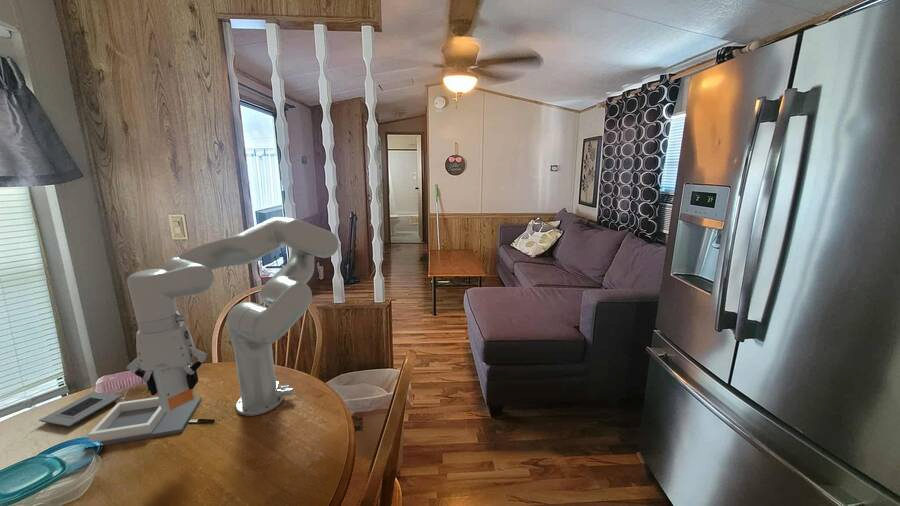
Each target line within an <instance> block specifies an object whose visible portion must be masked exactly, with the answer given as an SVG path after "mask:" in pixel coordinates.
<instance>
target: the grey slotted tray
mask: <svg viewBox="0 0 900 506" xmlns="http://www.w3.org/2000/svg"><path fill="white" fill-rule="evenodd" d="M97 392H98V391H92V392H90V393H88V394H86V395H84V396H82V397H81V398H78V399H76V400H75V401H72V402H71V403H69V404H67V405H65V406H62V407H61V408H59V409H57V410H56V411H53V412H52V413H50V414H48V415H46V416H45V417H43V418H40V419H38V421H39V422H42V423H46V424H47V423H48V424H52V425H59V426H63V427H72V426H75V425H77V424H78V423H80V422H81V421H83V420H84V419H86V418H88V417H91V416H92V415H94V414H96V413H97V412H99V411H101V410H103V409H104V408H106V407H108V406H110V405H111V404H113V403H115V402H117V401H118V400H121V398H122V396H123V395H120V394H114V393H108V392H102V393H97Z"/></svg>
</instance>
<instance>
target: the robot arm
mask: <svg viewBox="0 0 900 506" xmlns="http://www.w3.org/2000/svg"><path fill="white" fill-rule="evenodd" d="M281 247H286V248H290V249H291V251H290V258H289V260H288V261H287V263H286V264H284V265H283V267H282V268H281V269H279V271H277V272H276V273H275V274H274V275H273V276H272V277H271V278H270V279H268V280H267V281H266V283H264V285H263V286H262V287H261V289H260V291H259V299H260V300H261V302H263V304H265V305H262V304H259V303H256V302H252V301H251V302H250V301H245V302H244V301H243V302H241V303H237V304H235V305H234V306H233V307H232V308H231V309H230V311H228V314H227V316H226V328H227V331H228V334H229V337H230V340H231V344H232V347H233V352H234V358H235V366H236V372H237V379H238V385H239V386H238V387H239V393H240V398H239V399H238V401H237V402H236V404H235V408H236V411H237V413H238V414H240V415H243V416H246V417H251V416H252V417H253V416H258V415H259V416H260V415H263V414H266V413H268V412H270V411H272V410H274V409H275V408H277V407H278V406H279V405H280V404H281V403H282V401H283V400H284V396H292V395H294V393H293V391H294V390H293V389H294V388H293V387H290V384H287V385H285V384H284V385H281V384H280V381H279V380H278V381H277V379H276V372H275V371H276V370H275V362H274V355H273V353H274V352H273V345H272V344H274V343H275V342H277V341H279V340H280V339H281V338H282V337H283V336H284V335H286V333H287V332H288V331H289V330H290V329H291V328H292V327H293V325H295V323H297V322H298V320H299V319H300V318H301V317H302V316H303V315H304V314H305V313H306V312H307V310H308V308H309V306H310V304H311V303H312V299H313V293H312V290H311V287H310V286H309V285H308V284H307V283H308V282H309V281H310V279H311V278H312V276H313V275H314V273H315V272H314V271H315V257H318V258H323V259H327V258H330V257H333V256H334V255H335V254H336V252H338V249H339V239H338V237H337V236H336V235H335V233H334V232H332V231H330V230H328V229H325V228H322V227H319V226H317V225H314V224H312V223H309V222H306V221H304V220H301V219H298V218H292V217H285V216H275V217H271V218H268V219H267V220H263V221H262V222H260V223H258V224H256V225H253V226H252V227H249V228H247V229H245V230H243V231H241V232H239V233H237V234H234V235H231V236H229V237H224V238H221V239H219V240H218V239H217V240H215V241H212V242H208V243H205V244H202V245H198V246H196V247H192V248H190V249H188V250H186V251H183V252H181V253H180V254H177V255H175V256H173V257H170V258H169V259H168V260H166V261H165V262H164V263H163V264H161V266H160V268H151V269H144V270H139V271H136V272H132V274H130V275H128V277H127V279H126V283H127V287H128V292H129V295H130V296H129V297H130V300H131V303H132V304H131V305H132V308H133V312H134V316H135V319H136V323H137V328H138V329H137V332H136V336H135V337H136V339H135V341H136V342H135V345H136V346H135V347H136V349H135V350H136V357H135V358H134V359H133V360H132V361H131V362H130V363H129V364H127V365H126V369H127V370H128V371H130V372H132V373H134V375H135V376H137V377H139V378H141V379H142V381H144V382H146V386H147V389H148V391H149V393H150V395H151V396H155V395H156V394H157V390H156V386H155V382H154V377H153V373H152V372H153V371H154V370H155V367H159V366H169V367H170V368H176V367H182V368H183V369H184V370H185V371H186V372H187V373H188V374H187V376H186V378H187V383H188V387H189V389H190V390H191V389H193V390H194V388H195V387H196V385H197V384H198V383H199V377H198V371H197V370H198V369H199V368H200V367H201V366H202V364H203V363H204V361H205V360H206V359H207V357H208V356H209V354H208V352H205V351H202V350H200V349H198V348H196V347H195V343H194V339H193V337H192V335H191V332H190V330H189V328H188V325H186V324H187V323H186V322H185V321H187V316H186V314H180V311H178V306H177V305H178V304H177V300H176V299H177V298H183V297H189V296H196V295H200V294H203V293H205V292H207V291H208V290H209V289H210V288H211V287H212V286H213V284H214V282H215V275H214V272H213V271H214V270H217V269H220V268H224V267H232V266H233V267H235V266H236V267H237V266H244V265H248V264H252V263H254V262H256V261H258V260H259V259H261V258H263V257H264V256H266V255H268V254H270V253H272V252H273V251H276V250H277V249H279V248H281ZM267 306H268V307H267ZM194 357H195V358H197V360H196V361H194V360H193V359H192V358H194Z"/></svg>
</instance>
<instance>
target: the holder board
mask: <svg viewBox="0 0 900 506" xmlns="http://www.w3.org/2000/svg"><path fill="white" fill-rule="evenodd" d="M201 402H202V397H195V400H194V401H192V402H190V403H188V404H186V405H183V406H181V407H179V408H177V409H175V410H173V411H171V412H170V413H167V412H166V411H165V410H164V409H162V408H161V407H160V403H159V398H158V396H155V397H148V398H141V399H134V400H128V401H127V400H125V401H120V402H119V401H118V402H117V403H116V404H115V405H114V406H113V407H112V408H111V409H110V410H109V412H107V414H106V415H105V416H104V417H103V418H102V419H101V420H100V421H99V422H98V423H97V424H96V425H95V427H93V428H92V430H90V431H89V433H88V434H87V436H88V440H89V441H90V442H95V441H100V442H101V443H102V444H103V446H109V445H115V444H119V443H120V444H121V443H126V442H127V443H128V442H133V441H137V440H138V441H139V440H145V439H150V438H156V437H162V436H169V435H174V434H179V433H183V432H184V430H185V428H186V426H187V424H188V423H189V422H188V421H190V420H191V418H192V417H193V415H194V413H195V412H196V410H197V409H198V407H199V405H200V403H201Z"/></svg>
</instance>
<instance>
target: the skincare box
mask: <svg viewBox="0 0 900 506" xmlns="http://www.w3.org/2000/svg"><path fill="white" fill-rule="evenodd" d="M152 373H153V377H154V382H155V386H156V390H157V393H156V394H157V397H158V398H159V403H160V407H161V408H162V409H164V410H165V411H166V412H167V413H170V412H171V411H173V410H175V409H177V408H179V407H181V406H183V405H186V404H188V403H190V402H192V401H194V400H195V398H196V397H195V392H194V388H193V389H191V390H190V389H189V387H188V383H187V378H186V376H187V374H188V373H187V372H186V371H185V370H184V369H183V368H182V367H176V368H170V367H169V366H159V367H155V370H154V371H153V372H152Z"/></svg>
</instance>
